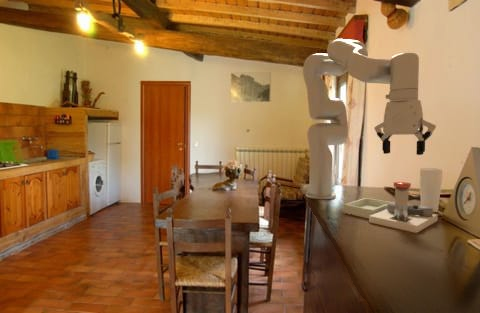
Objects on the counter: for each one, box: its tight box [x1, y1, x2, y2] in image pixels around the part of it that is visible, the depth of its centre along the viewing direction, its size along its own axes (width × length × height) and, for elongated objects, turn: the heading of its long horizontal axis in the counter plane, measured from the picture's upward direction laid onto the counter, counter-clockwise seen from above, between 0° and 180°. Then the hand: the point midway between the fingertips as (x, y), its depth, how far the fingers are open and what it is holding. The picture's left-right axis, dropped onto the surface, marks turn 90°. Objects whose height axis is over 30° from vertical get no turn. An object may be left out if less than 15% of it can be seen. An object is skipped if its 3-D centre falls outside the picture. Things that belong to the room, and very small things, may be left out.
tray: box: [343, 197, 390, 219], centre depth 112 cm, size 10×15×3 cm
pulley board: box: [368, 201, 439, 234], centre depth 101 cm, size 14×17×5 cm
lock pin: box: [393, 181, 412, 222], centre depth 97 cm, size 5×5×13 cm
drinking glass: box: [419, 167, 443, 213], centre depth 112 cm, size 7×7×15 cm
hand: (402, 154), depth 96 cm, fingers open, 9 cm apart
